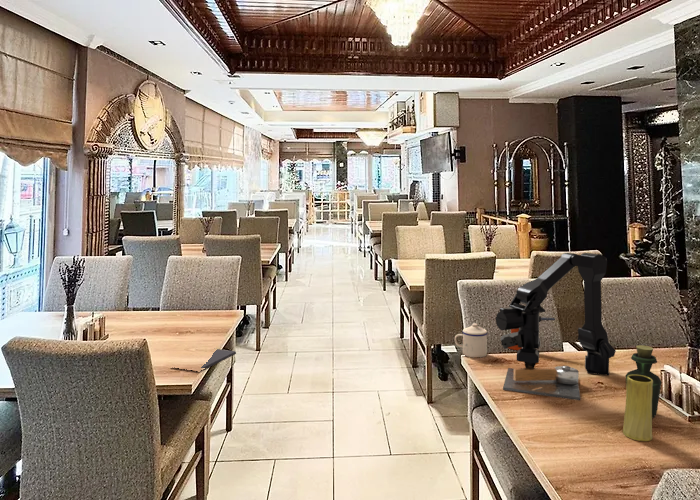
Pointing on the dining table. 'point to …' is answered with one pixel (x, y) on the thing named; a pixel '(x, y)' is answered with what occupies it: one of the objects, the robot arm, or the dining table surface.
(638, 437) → the vase
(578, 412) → the dining table surface
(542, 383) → the chuck base plate
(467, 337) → the teacup with lid
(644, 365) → the potion bottle
